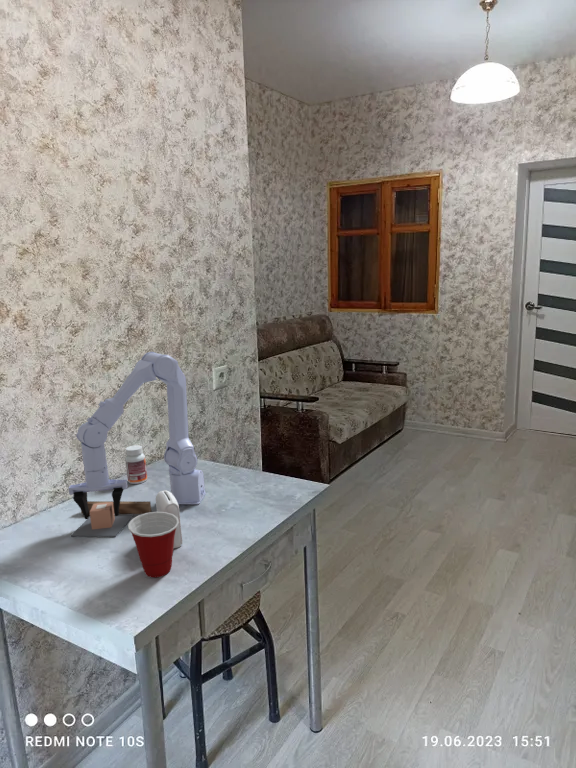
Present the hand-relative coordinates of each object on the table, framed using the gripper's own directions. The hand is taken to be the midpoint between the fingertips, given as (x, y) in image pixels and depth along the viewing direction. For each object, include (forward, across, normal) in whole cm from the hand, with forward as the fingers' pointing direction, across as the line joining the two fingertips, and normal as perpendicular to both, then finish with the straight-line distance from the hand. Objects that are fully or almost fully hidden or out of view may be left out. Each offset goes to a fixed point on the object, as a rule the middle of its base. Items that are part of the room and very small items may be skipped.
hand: (102, 516), depth 143 cm
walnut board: (+3, -2, -8) cm, 8 cm away
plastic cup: (+3, -17, +26) cm, 31 cm away
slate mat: (+3, 0, 0) cm, 3 cm away
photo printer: (+3, -18, +12) cm, 22 cm away
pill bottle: (+3, -5, -31) cm, 31 cm away
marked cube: (+2, 0, 0) cm, 2 cm away
